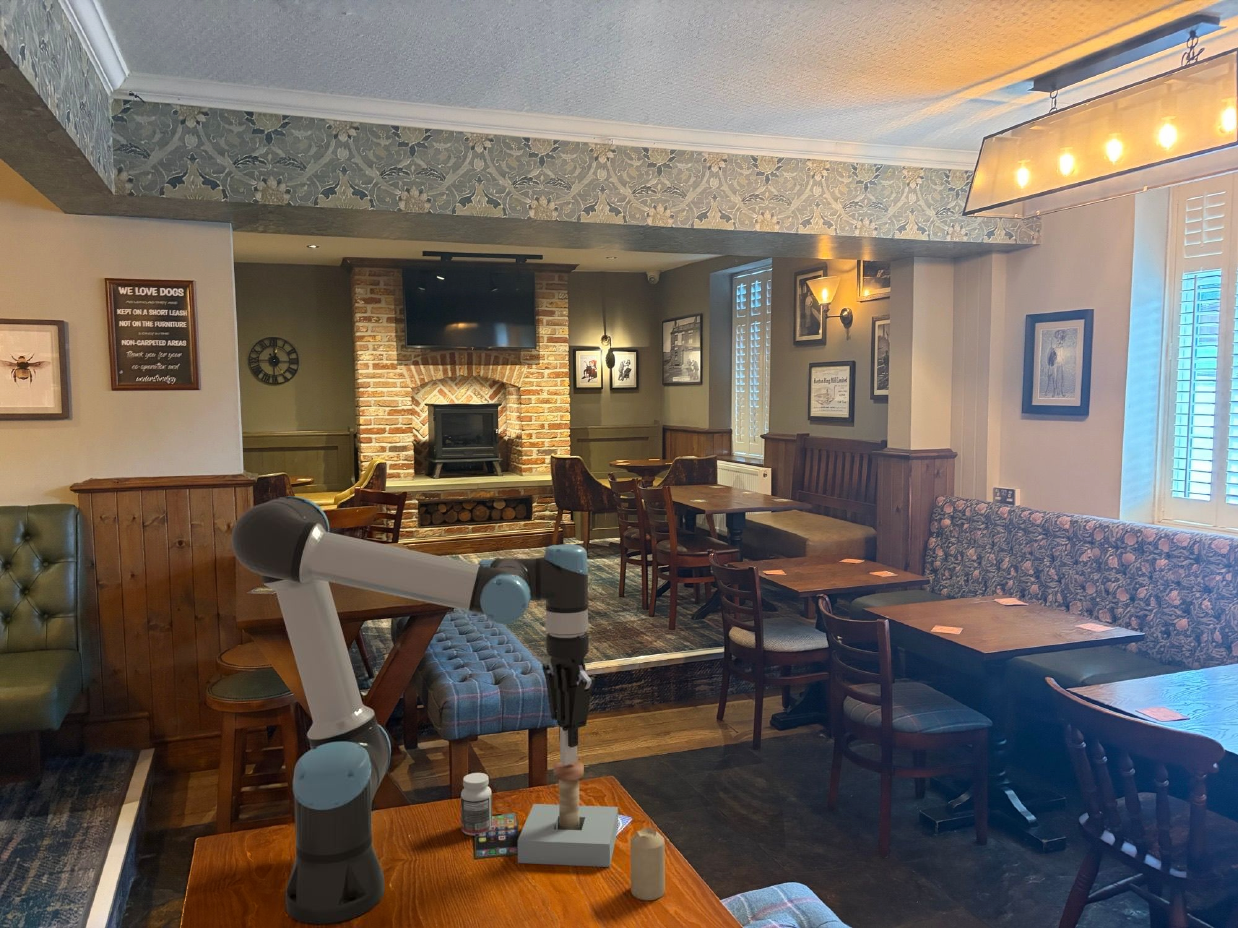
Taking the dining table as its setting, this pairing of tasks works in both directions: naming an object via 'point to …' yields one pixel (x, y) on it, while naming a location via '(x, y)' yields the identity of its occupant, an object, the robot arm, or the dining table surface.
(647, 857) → the candle
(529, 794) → the dining table surface
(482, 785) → the pill bottle
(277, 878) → the dining table surface
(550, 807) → the block
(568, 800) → the peg
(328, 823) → the robot arm
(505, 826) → the smartphone
